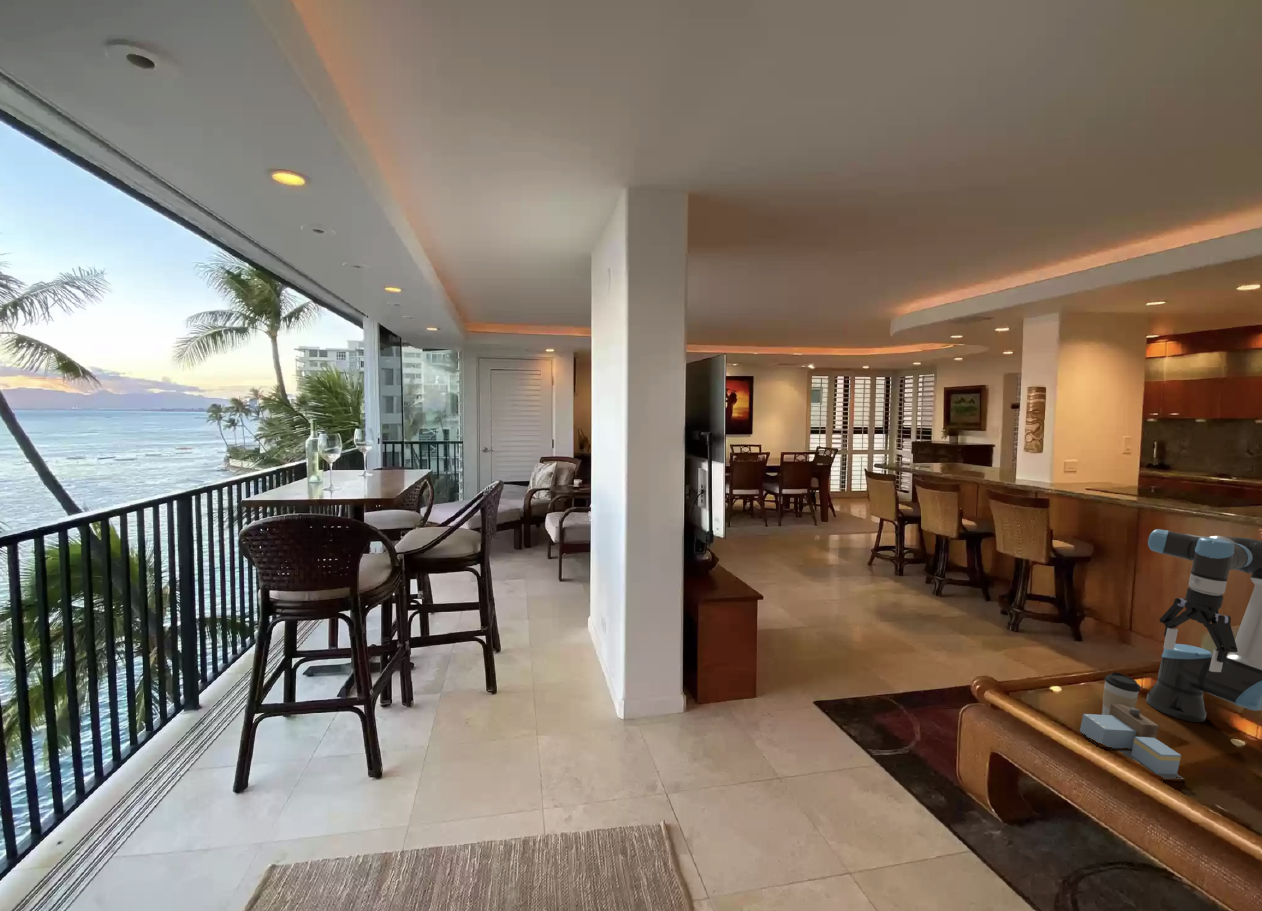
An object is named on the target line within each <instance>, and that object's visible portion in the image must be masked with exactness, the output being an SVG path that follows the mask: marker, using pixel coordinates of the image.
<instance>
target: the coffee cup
mask: <svg viewBox="0 0 1262 911" xmlns="http://www.w3.org/2000/svg"><path fill="white" fill-rule="evenodd" d="M1140 692H1141V685H1140V684H1139V683H1138V682H1137V681H1136V680H1135V679H1134V678H1131V677H1130V676H1128V675H1127V676H1126V675H1124V674H1122V673H1120V672H1116V671H1115V672H1112V673H1110V674H1106V676H1105V678H1104V686H1103V696H1102V711H1101V712H1102V713H1101V715H1109V712H1110V707H1111V704H1121V705H1127V706H1129V707H1130V708H1131V707H1132V708H1136V704H1137V701H1138V699H1139V696H1138V695H1139V693H1140Z"/></svg>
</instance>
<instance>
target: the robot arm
mask: <svg viewBox="0 0 1262 911" xmlns="http://www.w3.org/2000/svg"><path fill="white" fill-rule="evenodd" d="M1147 545H1148V546H1147V547H1148V549H1149V550H1150V551H1152V552H1155V553H1158V554H1160V555H1166V556H1170V557H1173V558H1180V559H1183V560H1187V561H1192V566H1191V569H1190V575H1189V580H1188V588H1187V589H1186V594H1185V598H1183V597H1182V598H1179V597H1177V598H1174V601H1173V604H1172V605H1171V606H1170V607H1169V608H1168V610H1166V612H1164V614H1163V615H1162V616H1161V617H1160V618H1159V622H1160V623H1162V624H1163V625H1164V627H1165V628H1164V632H1163V635H1164V643H1163V647H1162V648H1163V651H1162V652H1163V653H1162V654H1161V660H1160V665H1159V670H1158V675H1157V680H1156V682H1155V684H1154V685H1153V686H1152V688H1151V689H1150V691H1148V692H1147V695H1146V698H1145V701H1146V703H1147V704H1148V705H1149V706H1151V707H1152V708H1153V709H1155V710H1157V711H1158V712H1160V713H1163V714H1165V715H1168V716H1170V717H1173V718H1176V719H1179V720H1183V721H1185V722H1186V721H1188V722H1193V723H1204V722H1205V721H1206V718H1207V710H1206V709H1205V701H1204V693H1207V694H1209V695H1212V696H1215V697H1216V698H1219V699H1221V700H1224V701H1226V702H1229V703H1232V704H1234V705H1235V706H1238V707H1242V708H1245V709H1247V710H1250V711H1257V712H1258V711H1261V710H1262V540H1258V539H1255V538H1250V537H1249V538H1248V537H1240V536H1239V537H1238V536H1237V537H1236V536H1225V535H1224V536H1222V535H1214V536H1213V535H1211V536H1203V535H1194V534H1189V533H1181V532H1176V531H1175V532H1174V531H1171V530H1167V529H1161V528H1158V529H1157V528H1156V529H1154V530H1152V532H1150V534H1149V536H1148V540H1147ZM1231 570H1233V571H1234V570H1235V571H1238V572H1242V573H1246V574H1249V575H1251V576H1250V581H1251V582H1252V583H1253V584H1254V588H1253V589H1252V593H1251V595H1250V598H1249V602H1248V604H1247V607H1246V609H1245V612H1244V615H1243V617H1242V620H1241V623H1240V626H1239V628H1238V631H1237V634H1236V636H1235V635H1234V633H1233V628H1232V625H1231V624H1232V623H1231V622H1232V617H1231V616H1230V615H1226V614H1220V613H1219V610H1220V608H1222V605H1223V603H1224V602H1223V601H1224V596H1223V595H1224V594H1225V593H1226V590H1227V589H1226V588H1227V583H1228V578H1229V573H1230V571H1231ZM1184 608H1185V610H1184V611H1183V609H1184ZM1181 611H1182V612H1181ZM1189 620H1192V621H1196V622H1197V623H1199V624H1202V625H1203V627H1205V628H1206V630H1207V631H1208V634H1209V636H1210V637H1211V639H1212V641H1213V643H1214V645H1215V647H1216V648H1213V651H1212V652H1211V651H1209V650H1207V649H1205V648H1202V647H1198V646H1194V645H1190V644H1185V643H1183V644H1182V643H1176V641H1177V637H1178V631H1179V628H1178V626H1180V625H1182V624H1184V623H1185V622H1187V621H1189ZM1177 628H1178V629H1177Z"/></svg>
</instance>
